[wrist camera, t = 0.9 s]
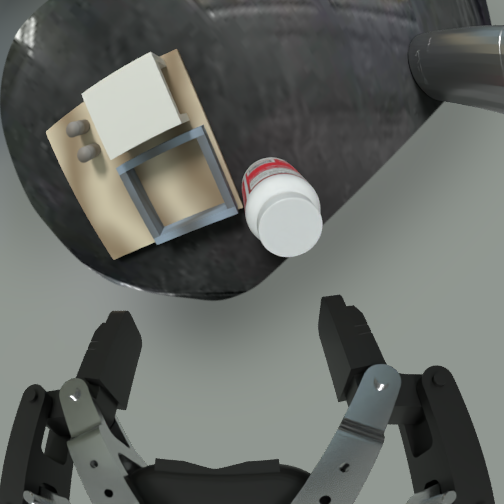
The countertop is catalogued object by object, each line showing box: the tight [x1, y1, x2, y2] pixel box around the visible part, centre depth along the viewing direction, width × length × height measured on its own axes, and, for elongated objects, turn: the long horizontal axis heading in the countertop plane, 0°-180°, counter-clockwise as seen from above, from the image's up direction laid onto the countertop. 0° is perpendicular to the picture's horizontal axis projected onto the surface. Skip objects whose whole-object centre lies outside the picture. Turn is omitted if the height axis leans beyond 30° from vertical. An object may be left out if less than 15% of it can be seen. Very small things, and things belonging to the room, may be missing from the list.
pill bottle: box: [242, 158, 322, 257], centre depth 24 cm, size 6×6×11 cm
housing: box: [82, 52, 189, 160], centre depth 20 cm, size 7×7×4 cm
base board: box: [46, 49, 243, 260], centre depth 24 cm, size 17×18×4 cm
